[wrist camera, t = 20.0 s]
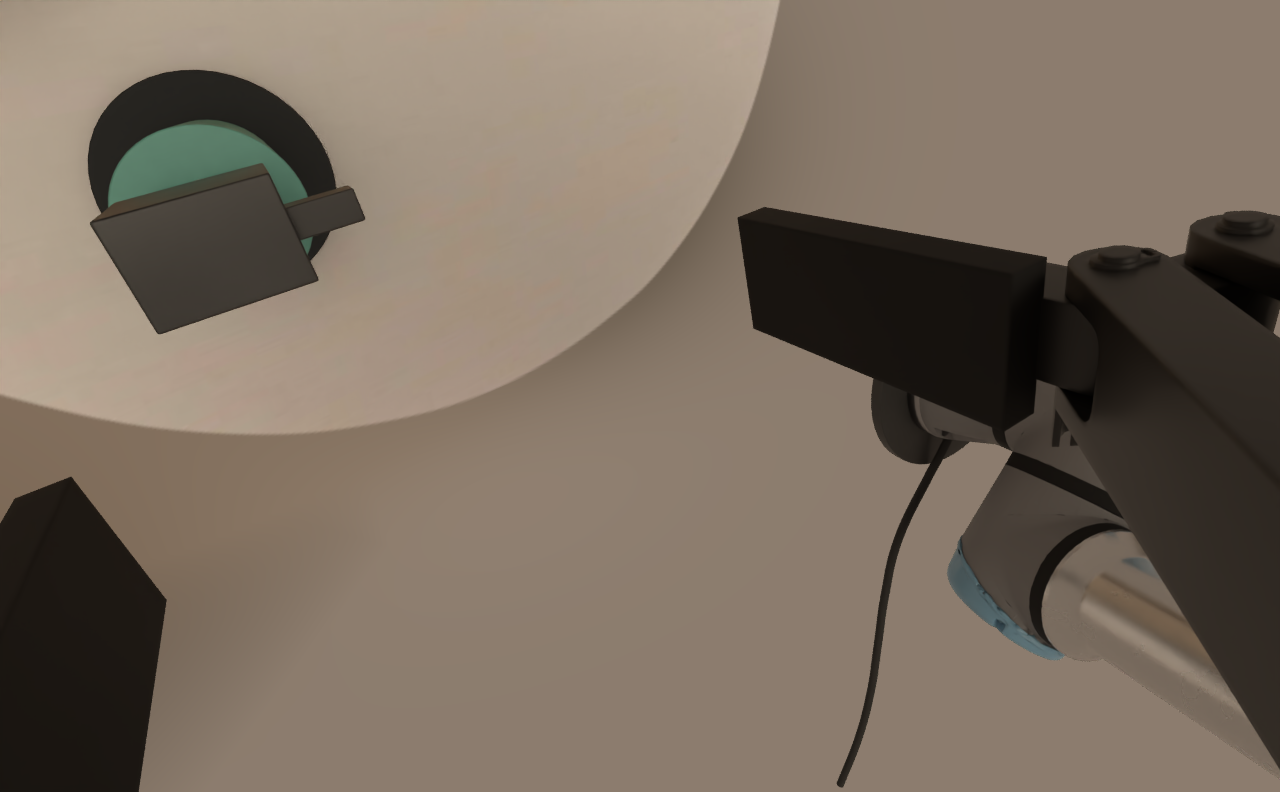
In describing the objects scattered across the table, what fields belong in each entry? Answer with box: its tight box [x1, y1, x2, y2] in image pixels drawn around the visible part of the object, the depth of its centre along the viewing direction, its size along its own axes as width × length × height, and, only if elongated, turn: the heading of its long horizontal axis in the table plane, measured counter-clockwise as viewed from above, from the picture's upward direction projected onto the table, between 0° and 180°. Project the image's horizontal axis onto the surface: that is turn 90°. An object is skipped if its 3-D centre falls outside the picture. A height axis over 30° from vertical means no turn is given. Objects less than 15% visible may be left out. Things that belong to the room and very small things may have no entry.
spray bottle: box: [90, 120, 365, 334], centre depth 27 cm, size 7×6×21 cm
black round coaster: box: [88, 70, 336, 260], centre depth 36 cm, size 11×11×1 cm
